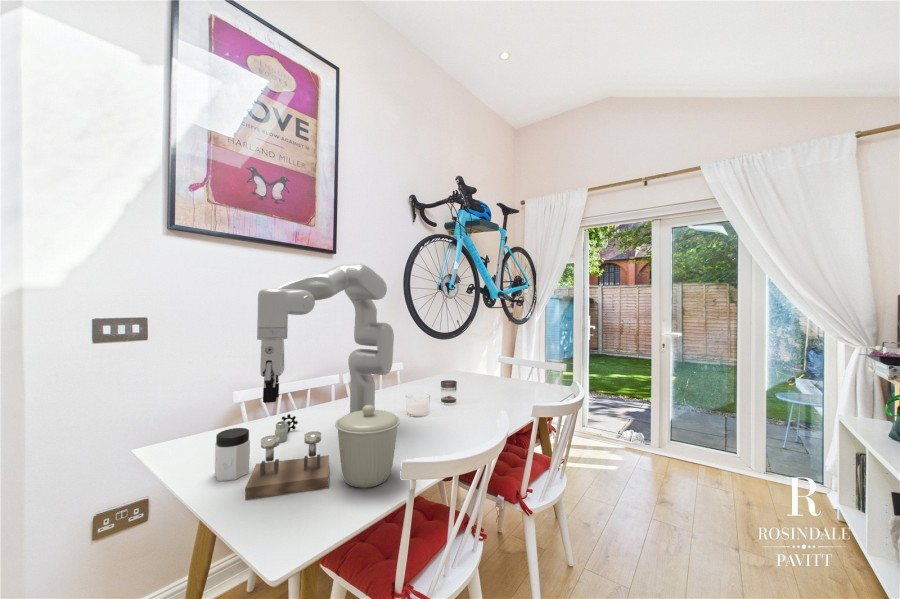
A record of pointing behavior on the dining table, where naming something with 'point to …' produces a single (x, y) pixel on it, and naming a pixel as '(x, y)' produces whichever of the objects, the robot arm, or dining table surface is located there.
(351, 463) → the canister
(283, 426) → the valve
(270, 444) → the knob
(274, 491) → the mount board
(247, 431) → the jar
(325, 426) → the dining table surface
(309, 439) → the knob
